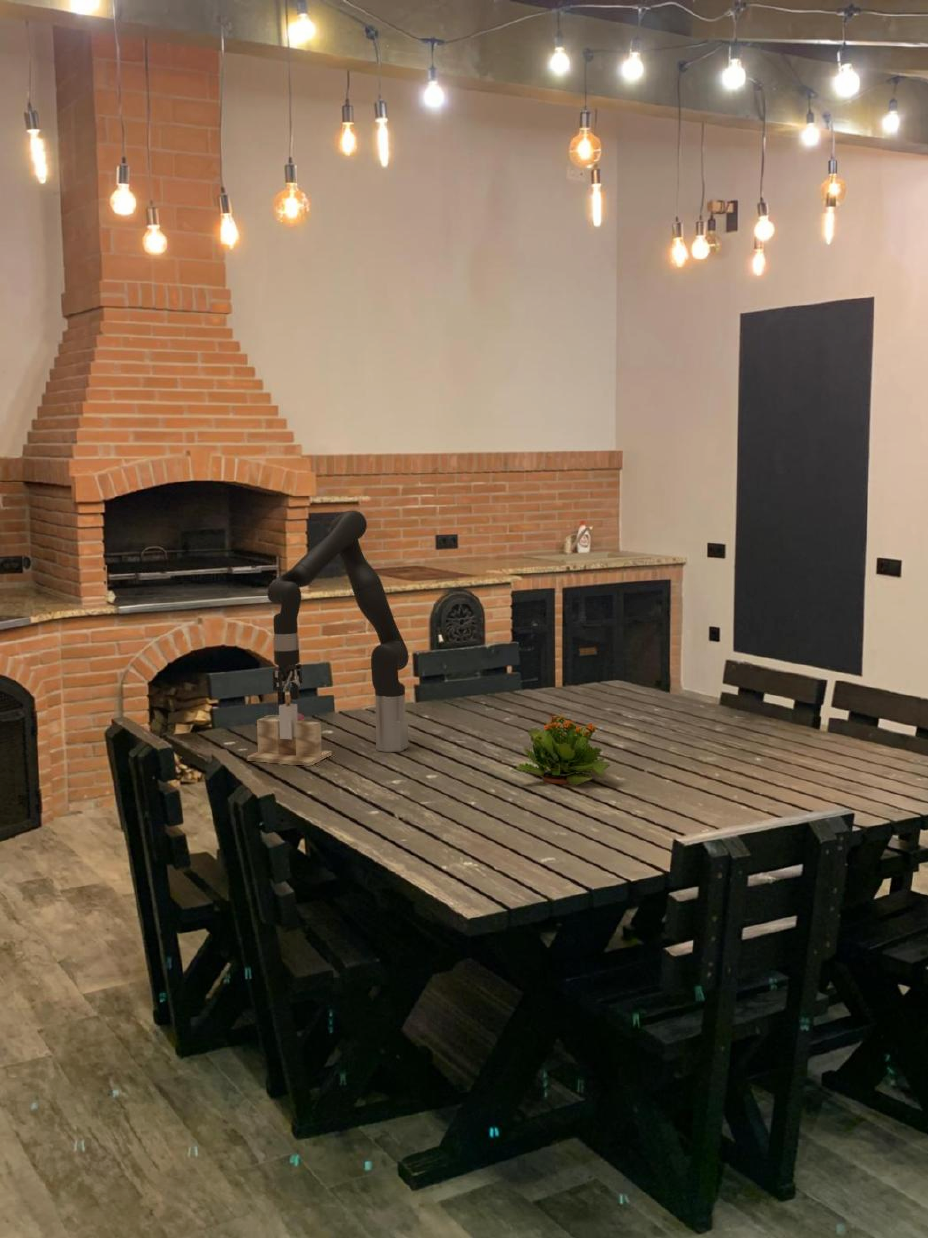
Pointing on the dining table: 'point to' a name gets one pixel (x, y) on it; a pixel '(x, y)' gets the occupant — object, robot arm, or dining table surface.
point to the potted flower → (563, 753)
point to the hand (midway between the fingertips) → (288, 701)
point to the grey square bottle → (287, 719)
